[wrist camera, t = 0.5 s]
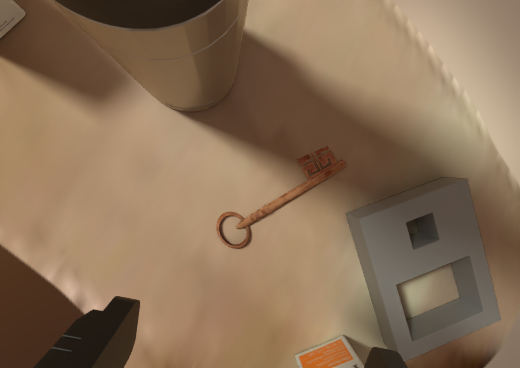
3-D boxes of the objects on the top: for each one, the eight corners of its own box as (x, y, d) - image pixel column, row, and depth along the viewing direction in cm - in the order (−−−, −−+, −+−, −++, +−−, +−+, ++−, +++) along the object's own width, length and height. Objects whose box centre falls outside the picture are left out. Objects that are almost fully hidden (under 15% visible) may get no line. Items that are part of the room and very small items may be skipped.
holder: (345, 213, 30) (358, 219, 27) (443, 177, 31) (466, 178, 29) (384, 344, 32) (401, 363, 29) (476, 305, 33) (501, 319, 30)
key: (324, 132, 30) (200, 205, 29) (327, 131, 29) (199, 205, 28) (351, 179, 30) (229, 253, 29) (354, 179, 29) (229, 255, 28)
